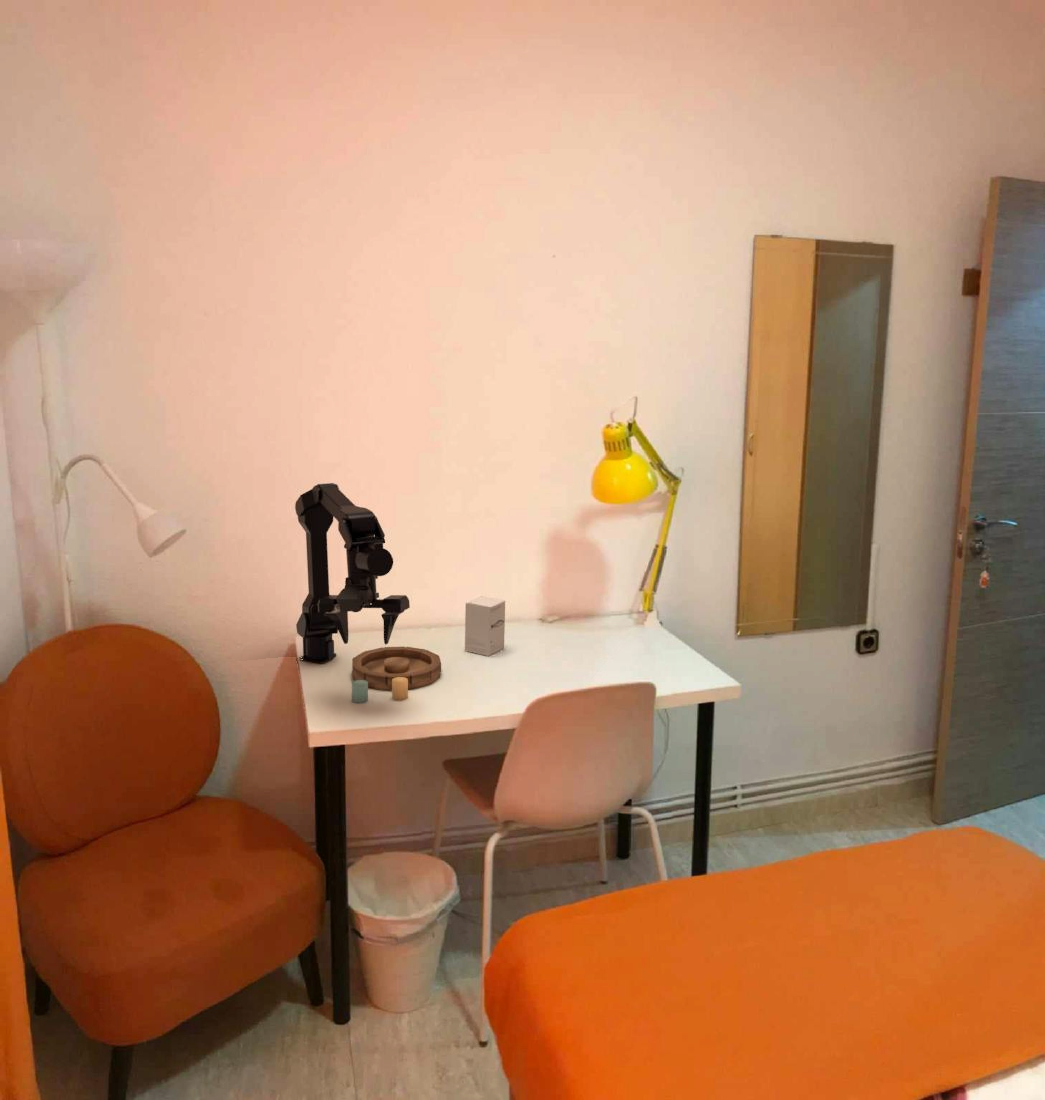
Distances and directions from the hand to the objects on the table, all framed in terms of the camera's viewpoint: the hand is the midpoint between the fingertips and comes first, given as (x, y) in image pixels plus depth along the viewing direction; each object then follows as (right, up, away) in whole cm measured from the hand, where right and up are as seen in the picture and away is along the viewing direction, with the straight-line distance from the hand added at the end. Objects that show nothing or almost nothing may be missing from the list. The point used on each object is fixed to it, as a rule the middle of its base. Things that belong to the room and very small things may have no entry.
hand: (366, 643), depth 211 cm
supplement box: (+24, -5, +36) cm, 43 cm away
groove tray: (+4, -9, +18) cm, 20 cm away
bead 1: (-2, -12, +2) cm, 13 cm away
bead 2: (+7, -12, +4) cm, 14 cm away
